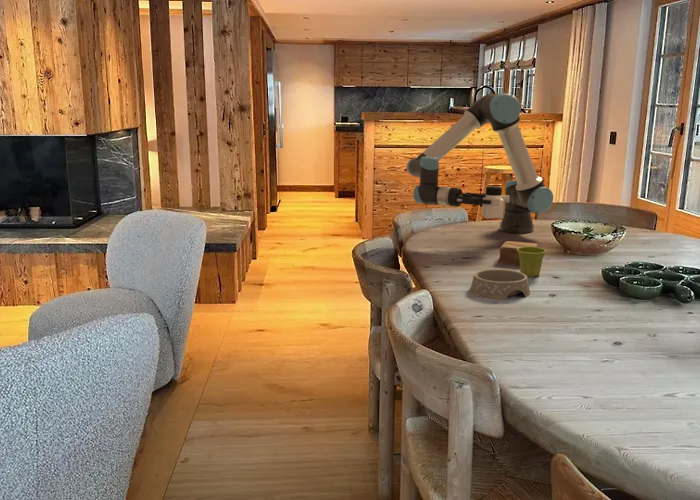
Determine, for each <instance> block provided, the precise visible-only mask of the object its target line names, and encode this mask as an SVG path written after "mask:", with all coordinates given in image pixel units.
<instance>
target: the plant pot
mask: <svg viewBox="0 0 700 500" xmlns="http://www.w3.org/2000/svg"><path fill="white" fill-rule="evenodd" d="M517 251H518V255H519V261H520V265H519V270H520V271H519V272H521V273H523V274H525V275H526V276H527V278H529V277H531V278H534V277H537V276H538V277H539V276H540V273H541V268H542V264H543V258H544V256H545V253H547V250H546V249H544V248H541V247H539V246H538V247H520V248H518V249H517Z"/></svg>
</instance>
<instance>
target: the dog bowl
mask: <svg viewBox="0 0 700 500" xmlns="http://www.w3.org/2000/svg"><path fill="white" fill-rule="evenodd" d="M528 278H529V277H527V276H526V275H525V274H523V273H521V272H520V271H517V270H511V269H502V268H501V269H500V268H499V269H496V268H494V269H492V268H491V269H484V270H479V271H477V272H475V273H474V274H473V278H472V281H471V285H470V289H469V291H470V292H471V293H472V294H474V295H476V296H477V295H478V297H480V296H481V297H480V298H485V299H491V300H500V301H501V300H503V301H504V300H507V298H508V296H514V295H518V294H520V293H523V295H524V297H525V298H526V297H528V296H530V295H531V290H530V284H529V279H528Z"/></svg>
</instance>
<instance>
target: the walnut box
mask: <svg viewBox="0 0 700 500" xmlns="http://www.w3.org/2000/svg"><path fill="white" fill-rule="evenodd" d="M520 247H538V248H539V243H537V242H526V241H525V242H522V241H510V240H506V241H505V242H504V243H502V245H501V246H500V248H499V263H498V264H501V265H510V266H511V265H515V266H520V261H519V255H518V251H517V249H518V248H520Z"/></svg>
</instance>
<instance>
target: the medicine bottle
mask: <svg viewBox="0 0 700 500" xmlns="http://www.w3.org/2000/svg"><path fill="white" fill-rule="evenodd" d="M485 194H486V197H485V198H494V199H501V202H500V206H489V205H483V207H481V208H482V209H481V212H482V213H481V215H482V216H483V217H484V218H485V219H502V218H504V210H505V202H504V200H503V199H502V198H501V197H502V195H503V188H502V187H501V186H499V185H489V186H486V188H485Z"/></svg>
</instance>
